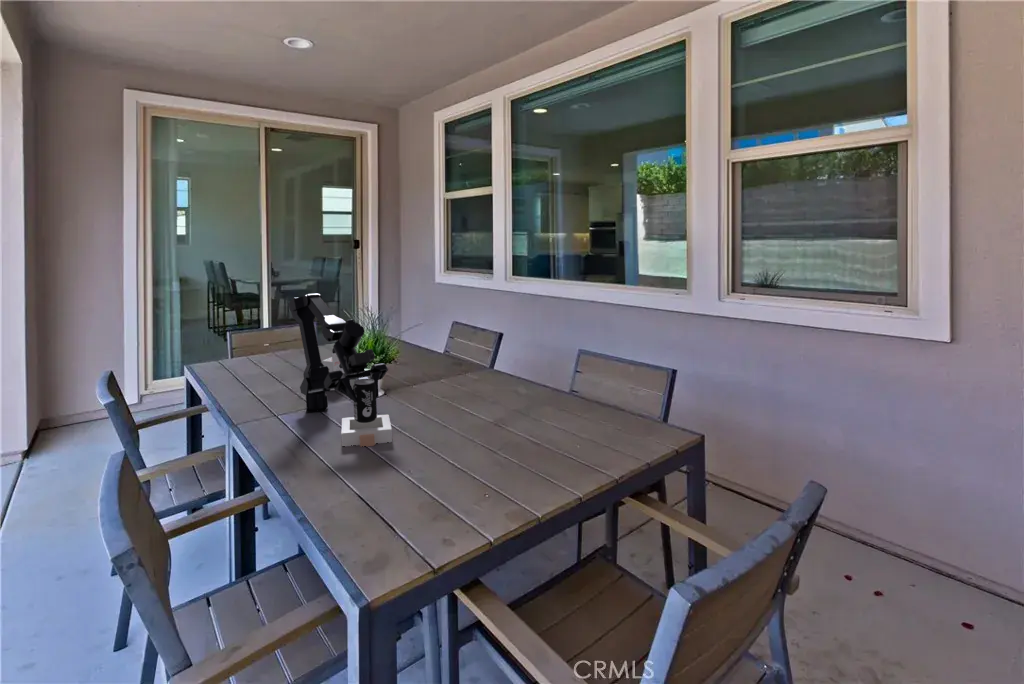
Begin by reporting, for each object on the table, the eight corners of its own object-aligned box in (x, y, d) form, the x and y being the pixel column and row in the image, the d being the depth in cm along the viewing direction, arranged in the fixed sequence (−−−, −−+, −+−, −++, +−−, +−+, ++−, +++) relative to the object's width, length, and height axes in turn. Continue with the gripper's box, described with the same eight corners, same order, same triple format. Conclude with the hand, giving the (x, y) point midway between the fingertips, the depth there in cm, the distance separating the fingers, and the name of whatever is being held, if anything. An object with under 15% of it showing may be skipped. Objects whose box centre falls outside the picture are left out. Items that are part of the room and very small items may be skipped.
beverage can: (381, 418, 166) (380, 379, 164) (367, 424, 161) (365, 385, 158) (364, 415, 169) (362, 377, 167) (349, 421, 163) (347, 382, 161)
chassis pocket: (341, 448, 156) (341, 435, 155) (342, 430, 170) (342, 418, 170) (392, 444, 159) (392, 430, 159) (388, 426, 174) (388, 414, 173)
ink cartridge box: (333, 384, 223) (332, 348, 220) (345, 385, 222) (343, 349, 219) (322, 390, 215) (320, 353, 212) (334, 390, 214) (332, 353, 211)
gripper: (326, 345, 157) (346, 391, 151) (384, 337, 169) (404, 379, 164) (315, 366, 164) (334, 411, 158) (372, 358, 177) (391, 398, 171)
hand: (367, 399), depth 163 cm, fingers closed on beverage can, 7 cm apart
